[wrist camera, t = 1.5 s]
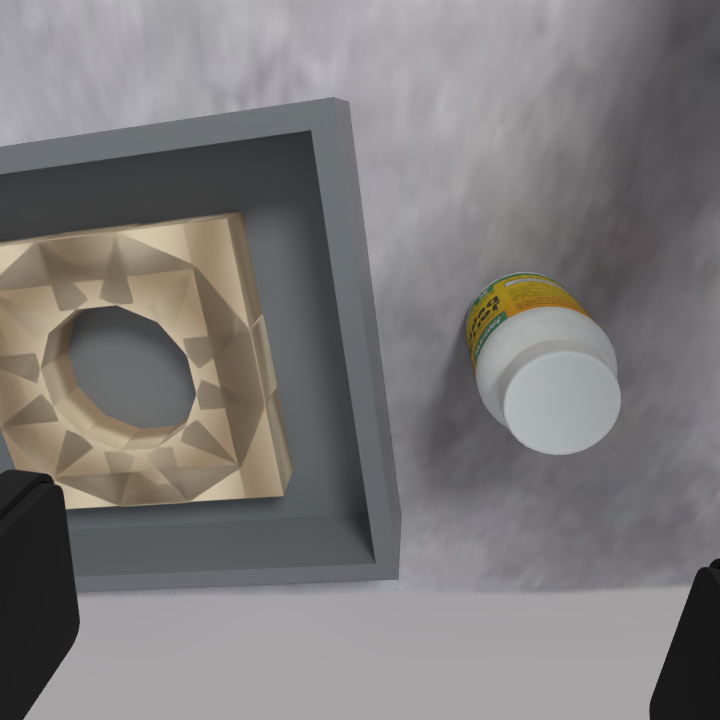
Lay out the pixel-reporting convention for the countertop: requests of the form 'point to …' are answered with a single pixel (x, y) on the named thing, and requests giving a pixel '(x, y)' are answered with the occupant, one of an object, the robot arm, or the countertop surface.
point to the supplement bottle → (542, 364)
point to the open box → (284, 330)
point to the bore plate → (182, 323)
